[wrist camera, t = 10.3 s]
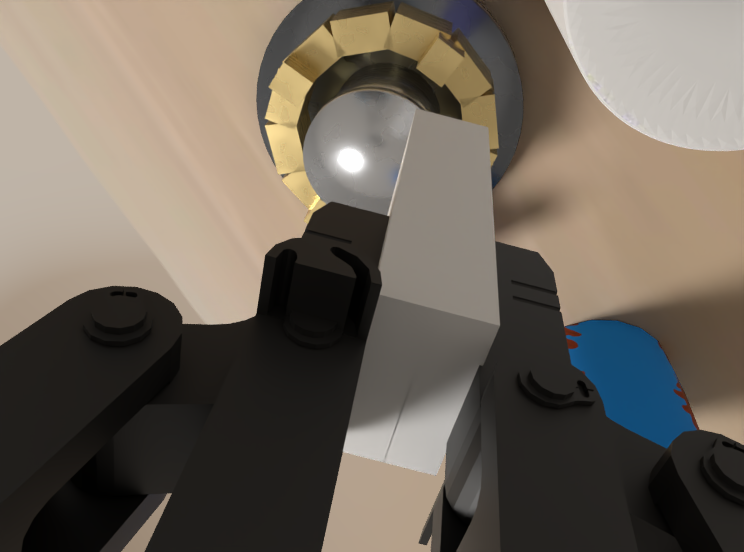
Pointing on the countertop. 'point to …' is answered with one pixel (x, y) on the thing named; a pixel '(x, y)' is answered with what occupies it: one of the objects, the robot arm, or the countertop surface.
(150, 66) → the countertop surface
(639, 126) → the container
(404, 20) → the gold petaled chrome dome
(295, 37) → the base
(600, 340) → the thermos
